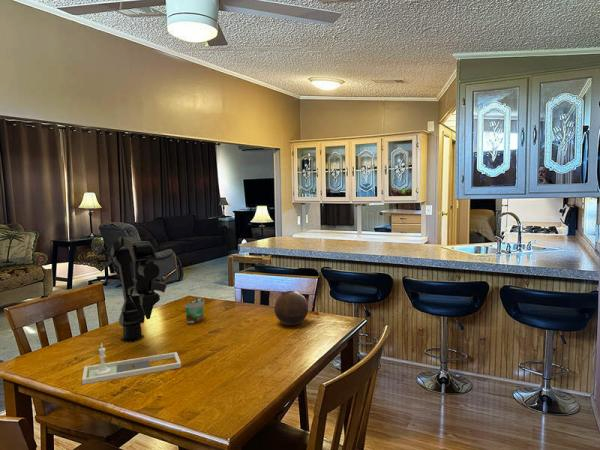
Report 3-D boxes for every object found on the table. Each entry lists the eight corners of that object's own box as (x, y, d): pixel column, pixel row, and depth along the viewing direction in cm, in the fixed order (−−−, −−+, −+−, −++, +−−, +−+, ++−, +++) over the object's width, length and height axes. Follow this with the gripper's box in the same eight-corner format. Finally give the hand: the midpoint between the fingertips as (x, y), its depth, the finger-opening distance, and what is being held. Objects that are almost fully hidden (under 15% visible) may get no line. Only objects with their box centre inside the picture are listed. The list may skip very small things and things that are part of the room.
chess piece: (95, 377, 137) (93, 346, 136) (95, 371, 141) (93, 342, 140) (111, 374, 139) (110, 344, 138) (111, 368, 143) (109, 339, 142)
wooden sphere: (313, 327, 185) (313, 293, 184) (281, 331, 180) (281, 296, 178) (300, 317, 199) (300, 286, 198) (270, 321, 193) (269, 289, 192)
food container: (198, 326, 188) (197, 304, 187) (185, 325, 190) (184, 303, 189) (209, 318, 200) (209, 297, 199) (197, 317, 202) (196, 296, 201)
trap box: (176, 356, 154) (176, 352, 154) (181, 367, 144) (181, 363, 144) (84, 370, 143) (84, 366, 142) (82, 384, 133) (82, 379, 132)
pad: (116, 367, 145) (116, 365, 145) (117, 377, 138) (116, 375, 138) (89, 371, 142) (89, 370, 142) (88, 381, 134) (88, 380, 134)
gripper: (172, 276, 156) (174, 317, 157) (155, 269, 171) (156, 307, 172) (142, 280, 149) (144, 323, 151) (126, 272, 164) (128, 312, 165)
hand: (144, 316), depth 160 cm, fingers open, 9 cm apart
